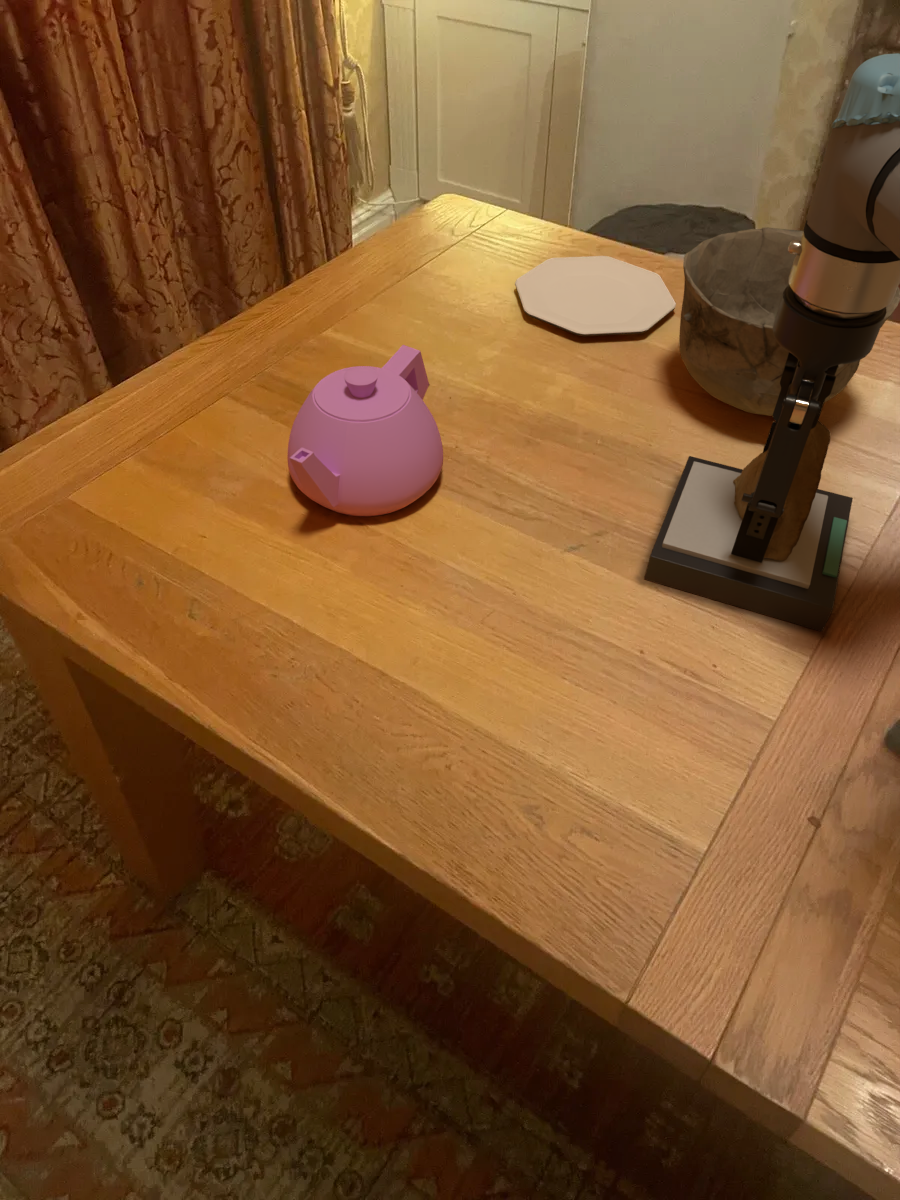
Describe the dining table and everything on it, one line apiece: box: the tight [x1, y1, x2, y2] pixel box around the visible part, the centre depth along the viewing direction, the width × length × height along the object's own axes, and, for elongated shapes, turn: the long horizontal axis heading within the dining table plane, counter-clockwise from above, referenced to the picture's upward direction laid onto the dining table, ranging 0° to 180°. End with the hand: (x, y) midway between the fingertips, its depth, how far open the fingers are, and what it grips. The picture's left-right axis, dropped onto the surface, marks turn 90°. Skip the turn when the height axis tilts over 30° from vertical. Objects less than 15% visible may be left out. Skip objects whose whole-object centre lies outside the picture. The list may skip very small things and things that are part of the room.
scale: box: [644, 455, 853, 632], centre depth 85 cm, size 16×16×4 cm
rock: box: [733, 419, 831, 561], centre depth 81 cm, size 11×9×10 cm
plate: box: [514, 255, 677, 337], centre depth 118 cm, size 20×20×2 cm
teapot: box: [286, 344, 444, 517], centre depth 89 cm, size 22×16×12 cm
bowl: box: [678, 226, 900, 417], centre depth 99 cm, size 22×22×15 cm
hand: (757, 517), depth 84 cm, fingers closed on rock, 10 cm apart
